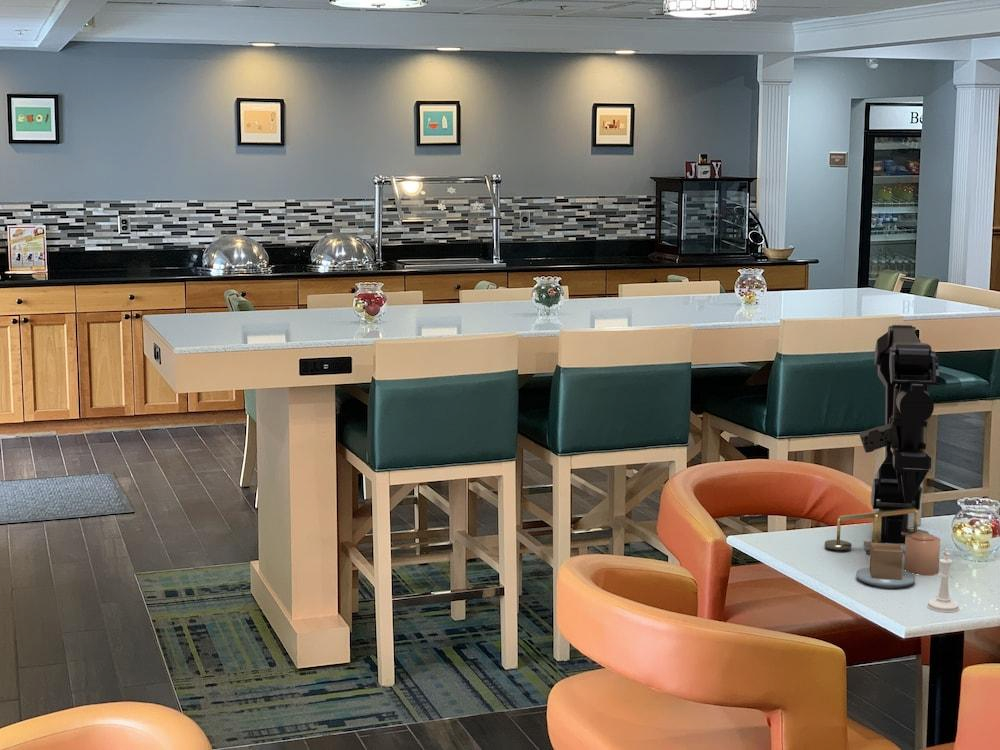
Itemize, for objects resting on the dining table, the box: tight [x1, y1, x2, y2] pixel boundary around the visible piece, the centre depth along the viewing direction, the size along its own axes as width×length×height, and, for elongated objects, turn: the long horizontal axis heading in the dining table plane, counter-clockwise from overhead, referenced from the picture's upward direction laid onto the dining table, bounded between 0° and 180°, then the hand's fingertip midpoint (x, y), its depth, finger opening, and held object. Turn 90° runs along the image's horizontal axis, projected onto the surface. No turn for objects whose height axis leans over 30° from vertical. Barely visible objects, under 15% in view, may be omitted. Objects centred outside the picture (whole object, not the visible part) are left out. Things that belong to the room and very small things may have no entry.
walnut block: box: [869, 542, 904, 580], centre depth 228 cm, size 5×5×5 cm
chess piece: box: [927, 548, 960, 613], centre depth 213 cm, size 5×5×10 cm
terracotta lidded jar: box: [903, 533, 941, 576], centre depth 234 cm, size 6×6×6 cm
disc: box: [855, 566, 916, 589], centre depth 228 cm, size 10×10×1 cm
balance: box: [824, 507, 930, 556], centre depth 246 cm, size 6×19×9 cm, turn 79°
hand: (904, 496), depth 237 cm, fingers open, 9 cm apart
